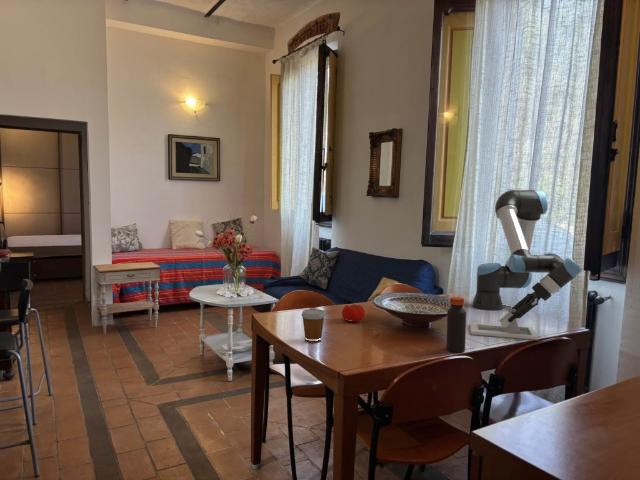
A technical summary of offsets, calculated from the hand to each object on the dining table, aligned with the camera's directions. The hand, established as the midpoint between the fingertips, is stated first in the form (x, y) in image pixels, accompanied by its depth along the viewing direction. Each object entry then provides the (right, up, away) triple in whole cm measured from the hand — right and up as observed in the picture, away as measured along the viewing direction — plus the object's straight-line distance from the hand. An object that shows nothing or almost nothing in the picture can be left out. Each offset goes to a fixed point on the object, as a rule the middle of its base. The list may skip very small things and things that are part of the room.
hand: (501, 324), depth 198 cm
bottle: (-27, -6, -24) cm, 36 cm away
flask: (+4, -4, -1) cm, 5 cm away
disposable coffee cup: (-81, -5, -13) cm, 82 cm away
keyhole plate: (0, -4, +1) cm, 4 cm away
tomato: (-62, -2, +18) cm, 65 cm away
